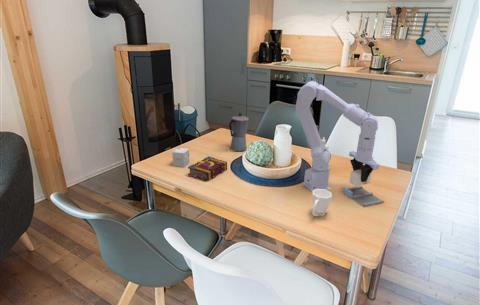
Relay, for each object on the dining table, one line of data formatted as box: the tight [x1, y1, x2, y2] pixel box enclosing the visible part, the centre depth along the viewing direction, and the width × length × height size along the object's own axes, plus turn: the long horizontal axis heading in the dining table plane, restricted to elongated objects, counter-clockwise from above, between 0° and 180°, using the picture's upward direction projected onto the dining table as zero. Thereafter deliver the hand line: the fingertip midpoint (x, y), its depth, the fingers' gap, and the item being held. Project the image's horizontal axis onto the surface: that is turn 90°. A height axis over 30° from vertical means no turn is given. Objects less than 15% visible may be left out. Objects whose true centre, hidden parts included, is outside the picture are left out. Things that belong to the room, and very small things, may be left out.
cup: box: [312, 189, 333, 217], centre depth 114 cm, size 7×10×8 cm
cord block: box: [349, 169, 373, 187], centre depth 127 cm, size 7×4×5 cm, turn 111°
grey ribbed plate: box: [341, 185, 385, 208], centre depth 127 cm, size 10×13×3 cm
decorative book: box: [187, 156, 228, 182], centre depth 146 cm, size 11×16×5 cm
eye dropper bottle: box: [321, 136, 329, 151], centre depth 161 cm, size 4×6×12 cm
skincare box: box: [171, 147, 191, 168], centre depth 154 cm, size 6×6×7 cm
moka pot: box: [228, 112, 250, 152], centre depth 171 cm, size 10×15×20 cm, turn 148°
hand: (360, 179), depth 127 cm, fingers closed on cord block, 4 cm apart
